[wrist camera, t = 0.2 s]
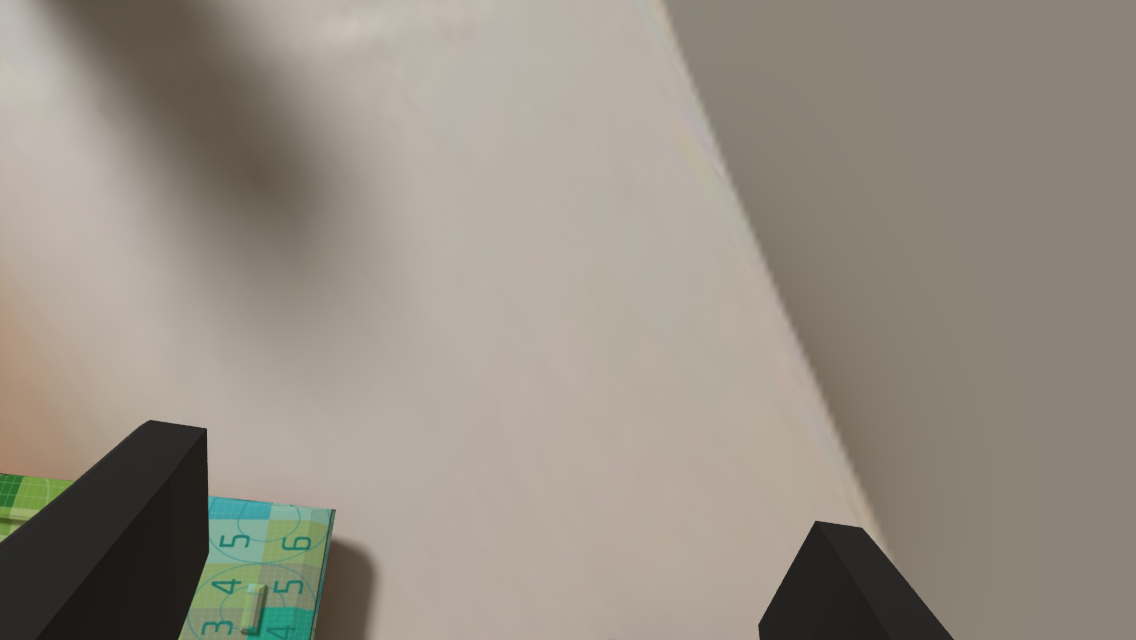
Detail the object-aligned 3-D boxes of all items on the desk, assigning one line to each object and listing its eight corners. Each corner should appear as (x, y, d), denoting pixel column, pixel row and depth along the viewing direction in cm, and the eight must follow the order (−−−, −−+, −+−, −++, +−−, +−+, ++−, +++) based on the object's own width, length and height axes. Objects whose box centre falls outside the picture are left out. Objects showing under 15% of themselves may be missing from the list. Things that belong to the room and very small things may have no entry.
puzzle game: (277, 816, 32) (-300, 782, 30) (295, 780, 37) (-205, 748, 34) (330, 509, 35) (-191, 452, 33) (341, 510, 40) (-116, 461, 37)
